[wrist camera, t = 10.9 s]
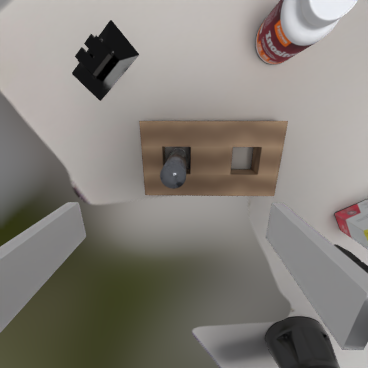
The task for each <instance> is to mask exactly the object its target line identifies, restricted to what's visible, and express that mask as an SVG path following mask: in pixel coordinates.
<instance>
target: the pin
mask: <svg viewBox="0 0 368 368" xmlns="http://www.w3.org/2000/svg"><path fill="white" fill-rule="evenodd" d="M186 161H187V155H186V153H185V151H184V150H182V149H180V148H176V149H174V150H173V151H172V152H171V153H170V155H169V157H168V159H167V161H166V163H165V164H164V166H163V168H162V170H161V172H160V179H161V182H162V183H163V184H164V185H165V186H166V187H168V188H171V189H175V188H179V187H181V186H182V185H183V184H184V182H185V180H186Z"/></svg>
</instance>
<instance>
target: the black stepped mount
mask: <svg viewBox="0 0 368 368" xmlns="http://www.w3.org/2000/svg"><path fill="white" fill-rule="evenodd" d="M84 44H85V45H86V46H87V47H88V48H89V49H88V51H87V52H86V50H85V49H84V48H82V47H81V49H80V50H79V51H78V53H77V54H76V56H75V57H76V58H77V59H78V61H79V62H80V63H79V64H78V65H77V67H76V68H75V70H74V71H73V72H72V74H73V75H74V76H75V77H76V78H77V79H78V80H79V81H80V82H81V83H82V84H83V85H84V86H85V87H86V88H87V89H88V90H89V91H90V92H91V93H92V94H93V95H95V96H96V97H97V98H98V99H99V100H100V101H101V100H102V99H103V97H104V96H105V95H106V94H107V93H108V91H109V90H110V89H111V88H112V87H113V85H114V84H115V83H116V82H117V81H118V79H119V78H120V77H121V76H122V75H123V74H124V72H125V71H126V70H127V69H128V68H129V66H130V65H131V64H132V63H133V62H134V60H135V59H136V58H137V57H138V55H139V54H138V52H137V51H136V50H135V49H134V47H133V46H132V45H131V44H130V43H129V41H128V40H127V39H126V38H125V36H124V35H123V34H122V33H121V31H120V30H119V29H118V28H117V26H116V25H115V24H114V23H113V22H112V21H111V20H110V21H109V23H108V24H107V26H106V27H105V28H104V30H103V31H102V32H101V34H100V35H99V37H97V36H95V37H94V36H93V35H92V34H91V35H90V36H89V38H88V39H87V40H86V42H85V43H84Z"/></svg>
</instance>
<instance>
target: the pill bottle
mask: <svg viewBox="0 0 368 368" xmlns="http://www.w3.org/2000/svg"><path fill="white" fill-rule="evenodd" d="M357 1H358V0H280V1H279V3H278V4H277V5H276V6H275V8H274V9H273V10H272V11H271V13H270V14H269V15H268V17H267V18H266V19H265V20H264V22H263V23H262V25H261V26H260V28H259V30H258V33H257V37H256V49H257V53H258V55H259V57H260V58H261V59H262V60H263V61H264V62H266V63H268V64H279V63H282V62H284V61H286V60H288V59H289V58H291V57H293V56H294V55H296V54H298V53H299V52H301V51H303V50H304V49H306V48H308V47H309V46H311V45H313V44H314V43H316V42H318V41H319V40H321V39H322V38H324V37H325V36H326V35H327V34H328V33H329V32H330V31H331V30H332V29H333V28H334V27H335V25H336V24H337V22H338V21H339V19H340V18H341V17H343V16H344V15H345V14H347V13H348V12H349V11H350V10H351V9H352V8H353V6H354V5H355V4H356V2H357Z"/></svg>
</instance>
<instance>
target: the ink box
mask: <svg viewBox="0 0 368 368" xmlns="http://www.w3.org/2000/svg"><path fill="white" fill-rule="evenodd" d="M335 216H336V220H337V222H338V225H339V228H340V230H341V231H342V232H344V233H345V234H347V235H348V236H349V237H351V238H352V239H354V240H355V241H356V242H358V243H359V244H361V245H362V246H363V247H365V248H366V249H368V199H366V200H364V201H362V202H360V203H357V204H355V205H353V206H350V207H348V208H346V209H344V210H341V211H339V212H337V213H335Z"/></svg>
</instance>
